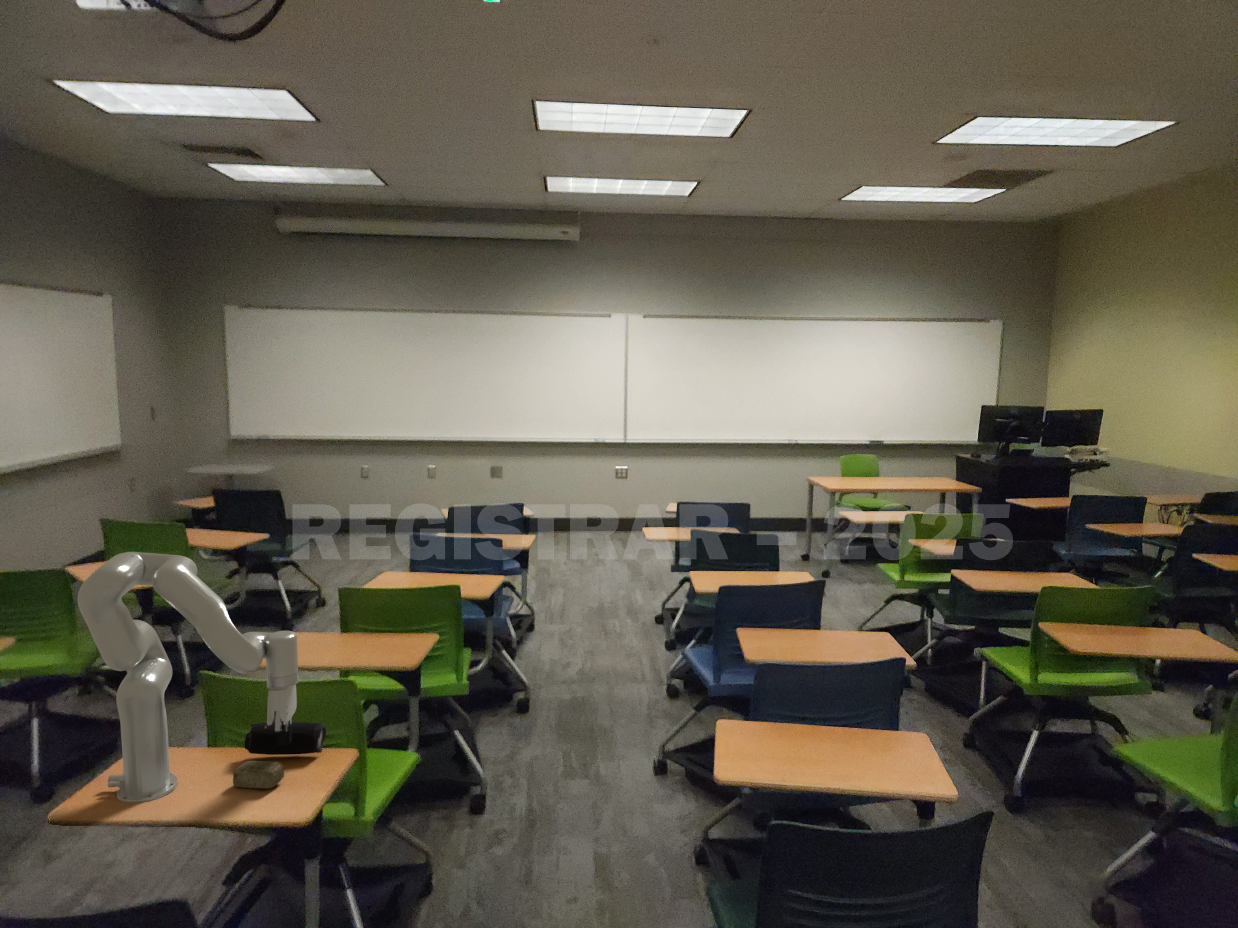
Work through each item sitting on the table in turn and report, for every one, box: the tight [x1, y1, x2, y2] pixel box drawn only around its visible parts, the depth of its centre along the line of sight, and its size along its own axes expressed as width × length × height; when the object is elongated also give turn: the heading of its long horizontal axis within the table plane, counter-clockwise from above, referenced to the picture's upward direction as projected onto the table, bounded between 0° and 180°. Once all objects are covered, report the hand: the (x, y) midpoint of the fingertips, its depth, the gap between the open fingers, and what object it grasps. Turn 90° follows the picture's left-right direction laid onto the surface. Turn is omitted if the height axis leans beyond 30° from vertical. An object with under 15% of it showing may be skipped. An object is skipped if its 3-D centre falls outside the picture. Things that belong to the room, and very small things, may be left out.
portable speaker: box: [243, 721, 328, 756], centre depth 195 cm, size 9×9×20 cm
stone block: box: [232, 760, 285, 789], centre depth 179 cm, size 6×12×5 cm, turn 83°
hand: (284, 743), depth 186 cm, fingers closed
